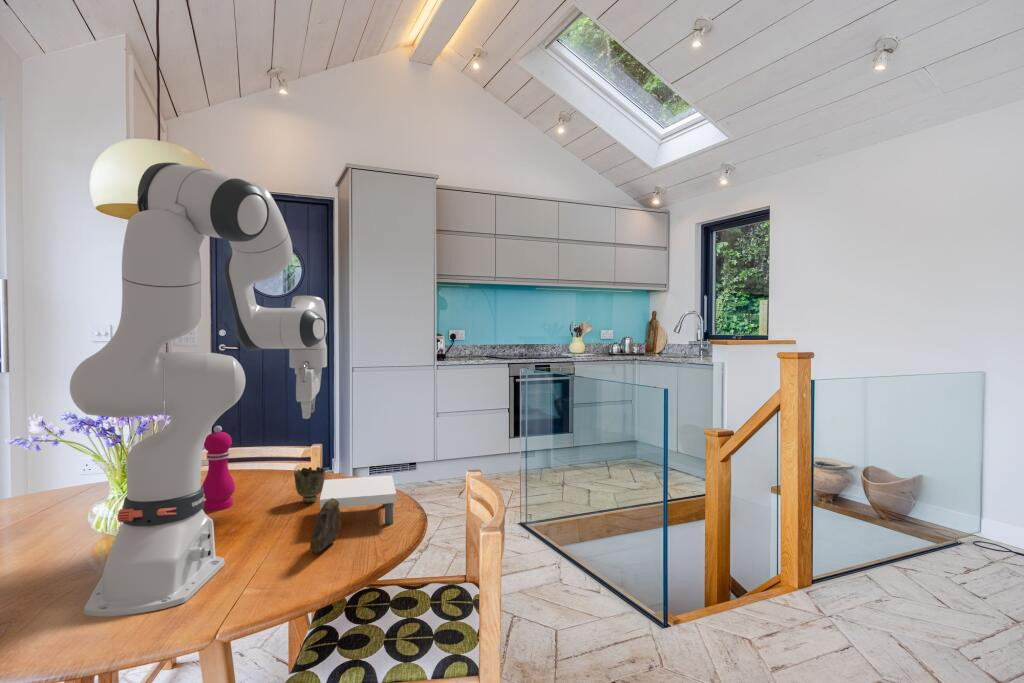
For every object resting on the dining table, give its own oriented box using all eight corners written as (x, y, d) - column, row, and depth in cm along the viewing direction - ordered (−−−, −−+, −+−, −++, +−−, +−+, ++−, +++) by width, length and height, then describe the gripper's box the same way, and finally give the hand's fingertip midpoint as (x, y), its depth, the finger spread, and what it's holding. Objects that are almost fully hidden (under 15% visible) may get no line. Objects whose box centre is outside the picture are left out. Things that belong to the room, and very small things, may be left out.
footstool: (396, 525, 119) (396, 493, 119) (319, 532, 115) (319, 499, 115) (392, 503, 135) (392, 475, 134) (324, 508, 130) (324, 479, 130)
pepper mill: (224, 512, 127) (224, 428, 127) (194, 512, 128) (194, 428, 127) (240, 502, 135) (240, 423, 134) (212, 502, 135) (211, 423, 134)
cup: (289, 506, 132) (289, 474, 132) (300, 497, 139) (300, 466, 139) (320, 506, 132) (319, 473, 132) (329, 497, 139) (329, 466, 139)
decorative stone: (344, 492, 108) (327, 488, 109) (321, 517, 99) (303, 513, 100) (340, 537, 111) (324, 533, 111) (318, 565, 102) (301, 562, 102)
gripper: (317, 363, 126) (318, 421, 126) (324, 358, 146) (324, 408, 146) (289, 363, 124) (289, 422, 125) (299, 358, 144) (300, 409, 144)
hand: (308, 415), depth 135 cm, fingers open, 8 cm apart
